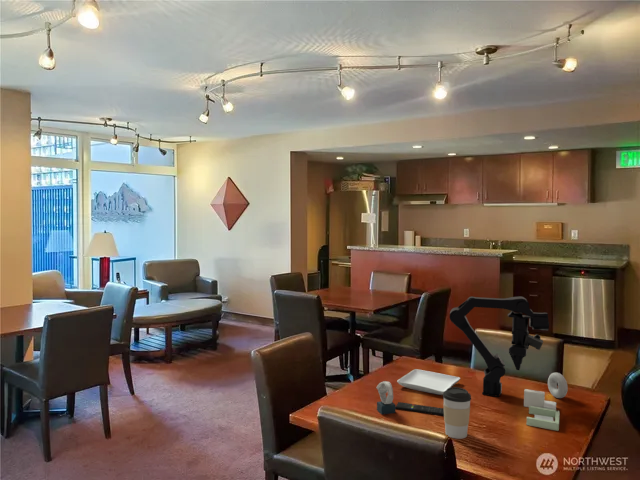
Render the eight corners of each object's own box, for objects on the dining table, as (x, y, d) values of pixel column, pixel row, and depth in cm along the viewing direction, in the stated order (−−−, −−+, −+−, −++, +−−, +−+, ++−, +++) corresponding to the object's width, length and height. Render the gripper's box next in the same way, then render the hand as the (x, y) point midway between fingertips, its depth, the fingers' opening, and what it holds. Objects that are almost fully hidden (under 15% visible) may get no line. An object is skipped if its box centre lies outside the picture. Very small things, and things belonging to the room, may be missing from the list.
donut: (569, 401, 192) (570, 376, 191) (561, 402, 191) (562, 377, 191) (553, 392, 201) (553, 368, 201) (545, 393, 201) (546, 369, 200)
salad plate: (461, 384, 212) (461, 376, 212) (445, 399, 194) (445, 391, 194) (414, 375, 223) (414, 368, 223) (395, 389, 206) (395, 381, 205)
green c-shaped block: (526, 424, 170) (526, 417, 170) (529, 412, 181) (529, 405, 181) (558, 430, 165) (558, 423, 165) (559, 417, 176) (559, 410, 176)
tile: (534, 424, 171) (534, 420, 171) (534, 418, 177) (534, 414, 177) (553, 428, 169) (553, 423, 169) (552, 421, 174) (552, 417, 174)
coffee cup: (438, 428, 166) (439, 385, 166) (464, 427, 167) (465, 384, 166) (447, 440, 157) (448, 394, 157) (474, 439, 158) (475, 394, 157)
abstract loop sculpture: (388, 406, 185) (388, 378, 185) (397, 414, 178) (397, 385, 177) (374, 408, 184) (375, 379, 183) (383, 416, 176) (383, 386, 176)
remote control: (398, 405, 188) (398, 401, 188) (463, 414, 180) (463, 411, 180) (395, 410, 183) (395, 406, 183) (461, 420, 175) (461, 416, 175)
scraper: (523, 408, 185) (523, 392, 184) (524, 402, 191) (525, 387, 191) (555, 413, 180) (556, 397, 180) (556, 407, 186) (556, 391, 186)
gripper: (540, 335, 184) (539, 376, 185) (543, 326, 201) (542, 363, 201) (509, 332, 189) (508, 372, 190) (514, 323, 206) (513, 359, 206)
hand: (519, 366), depth 197 cm, fingers open, 9 cm apart
